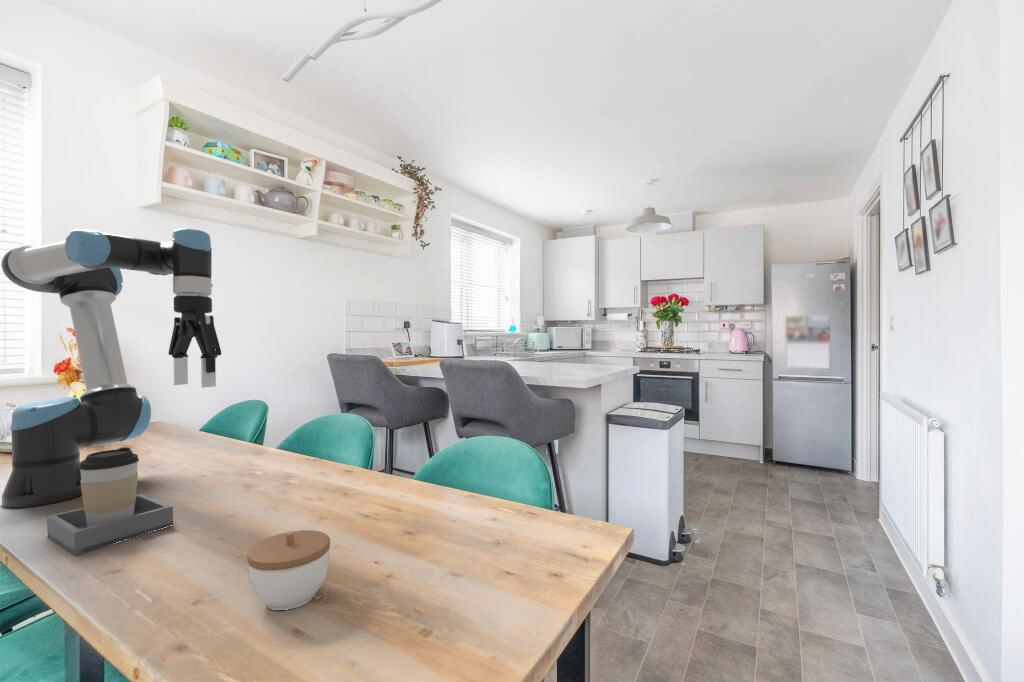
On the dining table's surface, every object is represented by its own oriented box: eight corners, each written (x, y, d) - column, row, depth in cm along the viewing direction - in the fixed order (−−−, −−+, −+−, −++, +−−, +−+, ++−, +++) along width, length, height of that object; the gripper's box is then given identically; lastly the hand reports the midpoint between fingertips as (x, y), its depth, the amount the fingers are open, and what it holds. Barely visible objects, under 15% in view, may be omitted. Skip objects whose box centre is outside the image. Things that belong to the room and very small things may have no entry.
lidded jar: (268, 581, 72) (267, 520, 72) (339, 577, 73) (338, 517, 73) (232, 623, 61) (231, 552, 61) (317, 618, 62) (316, 548, 62)
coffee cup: (104, 538, 87) (103, 457, 87) (66, 534, 89) (65, 455, 89) (151, 520, 96) (150, 446, 95) (116, 517, 97) (115, 445, 97)
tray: (47, 537, 90) (47, 516, 90) (141, 512, 102) (141, 493, 102) (74, 555, 82) (74, 532, 82) (173, 526, 94) (172, 506, 94)
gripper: (237, 294, 107) (238, 386, 107) (185, 300, 121) (187, 382, 121) (201, 291, 101) (203, 389, 101) (151, 298, 114) (152, 384, 114)
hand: (194, 385), depth 111 cm, fingers open, 13 cm apart
